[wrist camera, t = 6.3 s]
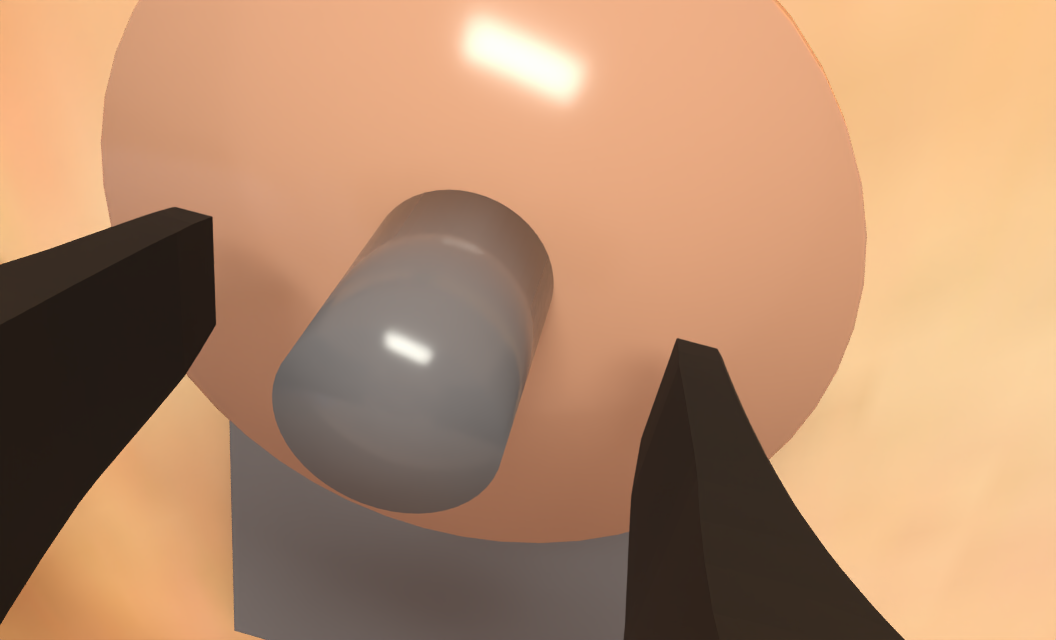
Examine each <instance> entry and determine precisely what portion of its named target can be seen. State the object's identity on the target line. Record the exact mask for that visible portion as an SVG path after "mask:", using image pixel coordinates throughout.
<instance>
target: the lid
mask: <svg viewBox="0 0 1056 640" xmlns="http://www.w3.org/2000/svg"><path fill="white" fill-rule="evenodd" d="M101 149H102V166H103V184H104V190H105V195H106V201H107V206H108V211H109V216H110V221H111V227H113V226H116V225H119V224H121V223H124V222H127V221H130V220H133V219H136V218H139V217H141V216H144V215H147V214H151V213H154V212H157V211H160V210H164V209H168V208H171V207H178V208H182V209H186V210H189V211H193V212H197V213H201V214H205V215H209V216H212V217H213V244H214V274H215V305H216V326H215V327H214V329H213V331H212V333H211V334H210V336H209V338H208V339H207V341H206V343H205V344H204V346H203V348H202V349H201V351H200V353H199V354H198V356H197V358H196V359H195V361H194V362H193V364H192V365H191V367H190V368H189V370H188V372H187V373H186V374H187V375H188V377H189V378H190V379H191V380H192V381H193V382H194V383H195V385H196V386H197V387H198V388H199V389H200V390H201V391H202V392H203V393H204V395H205V396H206V397H207V398H208V399H209V400H210V401H211V402H212V403H213V404H214V406H215V407H216V408H217V409H218V410H219V411H221V412H222V413H223V414H224V415H225V416H226V417H227V418H228V419H229V420H230V421H231V422H232V423H234V424H235V425H236V426H237V427H238V428H239V429H240V430H241V431H242V432H243V433H244V434H245V435H247V436H248V437H249V438H251V439H252V440H253V441H254V442H256V443H257V444H258V445H260V446H261V447H262V448H264V449H265V450H266V451H267V452H269V453H270V454H271V455H273V456H274V457H275V458H277V459H278V460H279V461H281V462H282V463H284V464H286V465H287V466H289V467H290V468H292V469H293V470H295V471H297V472H298V473H300V474H301V475H303V476H304V477H306V478H307V479H309V480H311V481H312V482H314V483H316V484H318V485H320V486H322V487H324V488H325V489H327V490H329V491H331V492H333V493H335V494H337V495H339V496H341V497H343V498H345V499H347V500H349V501H351V502H353V503H356V504H358V505H361V506H363V507H365V508H368V509H370V510H373V511H375V512H377V513H380V514H382V515H385V516H388V517H391V518H394V519H397V520H400V521H403V522H406V523H410V524H413V525H416V526H419V527H422V528H426V529H431V530H435V531H440V532H444V533H448V534H453V535H457V536H462V537H470V538H477V539H485V540H492V541H500V542H525V543H550V542H567V541H581V540H587V539H594V538H600V537H606V536H612V535H618V534H622V533H626V532H629V525H630V506H631V493H632V487H633V482H634V476H635V470H636V464H637V458H638V453H639V447H640V442H641V437H642V434H643V432H644V429H645V426H646V423H647V420H648V418H649V415H650V412H651V409H652V406H653V403H654V401H655V398H656V395H657V392H658V389H659V387H660V384H661V381H662V378H663V375H664V372H665V370H666V367H667V364H668V361H669V358H670V356H671V353H672V350H673V347H674V344H675V341H676V339H677V338H679V339H683V340H687V341H690V342H694V343H698V344H702V345H706V346H709V347H713V348H717V349H718V351H719V352H720V354H721V356H722V358H723V361H724V363H725V366H726V368H727V371H728V373H729V376H730V378H731V381H732V383H733V385H734V388H735V390H736V393H737V395H738V397H739V399H740V402H741V404H742V406H743V409H744V411H745V413H746V415H747V417H748V419H749V422H750V424H751V426H752V428H753V430H754V432H755V434H756V436H757V438H758V440H759V442H760V444H761V446H762V448H763V450H764V452H765V454H766V456H767V457H768V459H770V458H771V457H772V456H773V455H774V454H775V453H776V452H777V451H778V450H779V449H781V448H782V447H783V446H784V445H785V444H786V443H787V442H788V441H789V440H790V439H791V438H792V436H793V435H794V434H795V433H796V431H797V430H798V429H799V428H800V426H801V425H802V424H803V423H804V421H805V420H806V419H807V418H808V417H809V415H810V414H811V413H812V412H813V410H814V409H815V408H816V406H817V404H818V403H819V401H820V399H821V398H822V396H823V394H824V393H825V391H826V389H827V387H828V386H829V384H830V382H831V381H832V379H833V377H834V375H835V374H836V372H837V370H838V368H839V365H840V363H841V360H842V358H843V355H844V352H845V350H846V347H847V345H848V342H849V340H850V337H851V335H852V332H853V330H854V326H855V321H856V317H857V312H858V308H859V303H860V299H861V294H862V290H863V285H864V272H865V256H866V240H867V233H866V222H865V212H864V202H863V191H862V183H861V179H860V175H859V172H858V168H857V164H856V160H855V156H854V152H853V148H852V144H851V141H850V137H849V133H848V129H847V126H846V123H845V120H844V116H843V114H842V112H841V109H840V107H839V105H838V102H837V100H836V98H835V95H834V93H833V91H832V88H831V86H830V84H829V81H828V79H827V77H826V74H825V72H824V70H823V67H822V65H821V64H820V62H819V60H818V59H817V57H816V56H815V54H814V52H813V51H812V49H811V48H810V46H809V44H808V43H807V41H806V39H805V38H804V36H803V35H802V33H801V31H800V30H799V28H798V27H797V25H796V23H795V22H794V20H793V18H792V17H791V16H790V14H789V13H788V12H787V11H786V10H785V8H784V7H783V6H782V5H781V4H780V3H779V1H778V0H139V2H138V3H137V5H136V6H135V8H134V10H133V12H132V14H131V17H130V19H129V21H128V24H127V26H126V29H125V31H124V33H123V36H122V38H121V41H120V43H119V45H118V48H117V50H116V53H115V57H114V61H113V65H112V69H111V73H110V78H109V82H108V86H107V90H106V94H105V101H104V113H103V125H102V136H101Z"/></svg>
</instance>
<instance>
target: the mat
mask: <svg viewBox="0 0 1056 640" xmlns="http://www.w3.org/2000/svg"><path fill="white" fill-rule="evenodd" d="M230 460H231V502H232V544H233V586H234V628H235V631H238V632H241V633H245V634H248V635H252V636H255V637H259V638H262V639H266V640H624V630H625V612H626V590H627V568H628V546H629V532H626V533H622V534H618V535H612V536H606V537H600V538H594V539H587V540H581V541H567V542H550V543H525V542H500V541H492V540H485V539H477V538H470V537H462V536H457V535H453V534H448V533H444V532H440V531H435V530H431V529H426V528H422V527H419V526H416V525H413V524H410V523H406V522H403V521H400V520H397V519H394V518H391V517H388V516H385V515H382V514H380V513H377V512H375V511H373V510H370V509H368V508H365V507H363V506H361V505H358V504H356V503H353V502H351V501H349V500H347V499H345V498H343V497H341V496H339V495H337V494H335V493H333V492H331V491H329V490H327V489H325V488H324V487H322V486H320V485H318V484H316V483H314V482H312V481H311V480H309V479H307V478H306V477H304V476H303V475H301V474H300V473H298V472H297V471H295V470H293V469H292V468H290V467H289V466H287V465H286V464H284V463H282V462H281V461H279V460H278V459H277V458H275V457H274V456H273V455H271V454H270V453H269V452H267V451H266V450H265V449H264V448H262V447H261V446H260V445H258V444H257V443H256V442H254V441H253V440H252V439H251V438H249V437H248V436H247V435H245V434H244V433H243V432H242V431H241V430H240V429H239V428H238V427H237V426H236V425H235V424H234V423H232V422H231V421H230Z"/></svg>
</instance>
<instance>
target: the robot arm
mask: <svg viewBox="0 0 1056 640" xmlns="http://www.w3.org/2000/svg"><path fill="white" fill-rule="evenodd" d="M215 326H216V305H215V274H214V244H213V217H212V216H209V215H205V214H201V213H197V212H193V211H189V210H186V209H182V208H178V207H171V208H168V209H164V210H160V211H157V212H154V213H151V214H147V215H144V216H141V217H139V218H136V219H133V220H130V221H127V222H124V223H121V224H119V225H116V226H113V227H110V228H107V229H105V230H102V231H99V232H96V233H94V234H91V235H88V236H85V237H82V238H79V239H77V240H74V241H71V242H68V243H65V244H62V245H60V246H57V247H54V248H51V249H48V250H45V251H42V252H39V253H36V254H33V255H29V256H26V257H23V258H20V259H17V260H13V261H10V262H7V263H4V264H1V265H0V625H1V623H2V621H3V620H4V618H5V616H6V614H7V613H8V611H9V609H10V608H11V606H12V605H13V603H14V602H15V600H16V598H17V597H18V595H19V594H20V592H21V590H22V589H23V587H24V586H25V584H26V583H27V581H28V579H29V578H30V576H31V575H32V573H33V571H34V570H35V568H36V567H37V565H38V564H39V562H40V560H41V559H42V557H43V556H44V554H45V553H46V551H47V550H48V548H49V547H50V545H51V544H52V542H53V541H54V539H55V538H56V536H57V535H58V533H59V532H60V530H61V529H62V527H63V526H64V524H65V523H66V522H67V520H68V519H69V517H70V516H71V514H72V513H73V511H74V510H75V508H76V507H77V505H78V504H79V502H80V501H81V500H82V498H83V497H84V496H85V495H86V493H87V492H88V491H89V489H90V488H91V487H92V486H93V484H94V483H95V482H96V480H97V479H98V478H99V477H100V476H101V474H102V473H103V472H104V471H105V470H106V469H107V467H108V466H109V465H110V464H111V463H112V462H113V460H114V459H115V458H116V457H117V456H118V454H119V453H120V452H121V451H122V450H123V449H124V447H125V446H126V445H127V444H128V443H129V442H130V440H131V439H132V438H133V437H134V436H135V435H136V433H137V432H138V431H139V430H140V429H141V427H142V426H143V425H144V424H145V423H146V422H147V420H148V419H149V418H150V417H151V416H152V415H153V413H154V412H155V411H156V410H157V409H158V407H159V406H160V405H161V404H162V403H163V401H164V400H165V399H166V398H167V397H168V395H169V394H170V393H171V392H172V391H173V389H174V388H175V387H176V386H177V385H178V383H179V382H180V381H181V380H182V378H183V377H184V376H185V375H186V373H187V372H188V370H189V368H190V367H191V365H192V364H193V362H194V361H195V359H196V358H197V356H198V354H199V353H200V351H201V349H202V348H203V346H204V344H205V343H206V341H207V339H208V338H209V336H210V334H211V333H212V331H213V329H214V327H215ZM624 640H905V639H904V638H903V637H902V636H901V635H900V634H899V633H898V632H897V631H896V630H895V629H894V628H893V627H892V626H891V625H890V624H889V623H888V622H887V621H886V620H885V619H884V618H883V616H882V615H881V614H880V613H879V612H878V611H877V610H876V609H875V608H874V607H873V606H872V604H871V603H870V602H869V601H868V600H867V599H866V597H865V596H864V595H863V594H862V593H861V592H860V590H859V589H858V588H857V587H856V586H855V584H854V583H853V582H852V581H851V580H850V579H849V577H848V576H847V575H846V574H845V573H844V572H843V570H842V569H841V568H840V567H839V565H838V564H837V563H836V561H835V560H834V559H833V558H832V556H831V555H830V554H829V553H828V551H827V550H826V549H825V547H824V546H823V544H822V543H821V542H820V540H819V539H818V537H817V536H816V535H815V533H814V532H813V530H812V529H811V528H810V526H809V525H808V523H807V522H806V521H805V519H804V518H803V516H802V515H801V513H800V512H799V510H798V509H797V507H796V506H795V504H794V503H793V501H792V499H791V498H790V496H789V494H788V493H787V491H786V489H785V488H784V486H783V484H782V482H781V481H780V479H779V477H778V476H777V474H776V472H775V470H774V468H773V467H772V465H771V463H770V461H769V459H768V457H767V456H766V454H765V452H764V450H763V448H762V446H761V444H760V442H759V440H758V438H757V436H756V434H755V432H754V430H753V428H752V426H751V424H750V422H749V419H748V417H747V415H746V413H745V411H744V409H743V406H742V404H741V402H740V399H739V397H738V395H737V393H736V390H735V388H734V385H733V383H732V381H731V378H730V376H729V373H728V371H727V368H726V366H725V363H724V361H723V358H722V356H721V354H720V352H719V351H718V349H717V348H713V347H709V346H706V345H702V344H698V343H694V342H690V341H687V340H683V339H679V338H677V339H676V341H675V344H674V347H673V350H672V353H671V356H670V358H669V361H668V364H667V367H666V370H665V372H664V375H663V378H662V381H661V384H660V387H659V389H658V392H657V395H656V398H655V401H654V403H653V406H652V409H651V412H650V415H649V418H648V420H647V423H646V426H645V429H644V432H643V434H642V437H641V442H640V447H639V453H638V458H637V464H636V470H635V476H634V482H633V487H632V493H631V506H630V525H629V546H628V568H627V590H626V612H625V630H624Z"/></svg>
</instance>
